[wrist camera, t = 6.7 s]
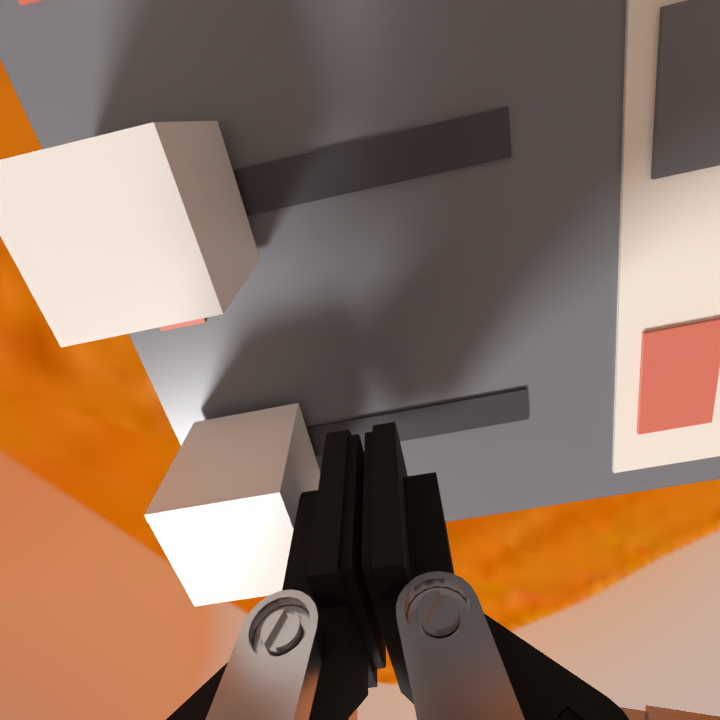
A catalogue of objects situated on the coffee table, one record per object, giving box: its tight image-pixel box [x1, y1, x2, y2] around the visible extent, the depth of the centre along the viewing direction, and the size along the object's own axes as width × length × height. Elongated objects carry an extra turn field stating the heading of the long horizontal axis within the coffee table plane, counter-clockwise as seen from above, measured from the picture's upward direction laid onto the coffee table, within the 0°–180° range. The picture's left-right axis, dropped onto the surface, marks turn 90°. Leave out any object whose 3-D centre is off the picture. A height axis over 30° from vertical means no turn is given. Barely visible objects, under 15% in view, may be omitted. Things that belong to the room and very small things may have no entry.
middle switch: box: [0, 121, 260, 347], centre depth 9 cm, size 3×3×4 cm
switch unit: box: [0, 0, 720, 522], centre depth 12 cm, size 16×22×3 cm
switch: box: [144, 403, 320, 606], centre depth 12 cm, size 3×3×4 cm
